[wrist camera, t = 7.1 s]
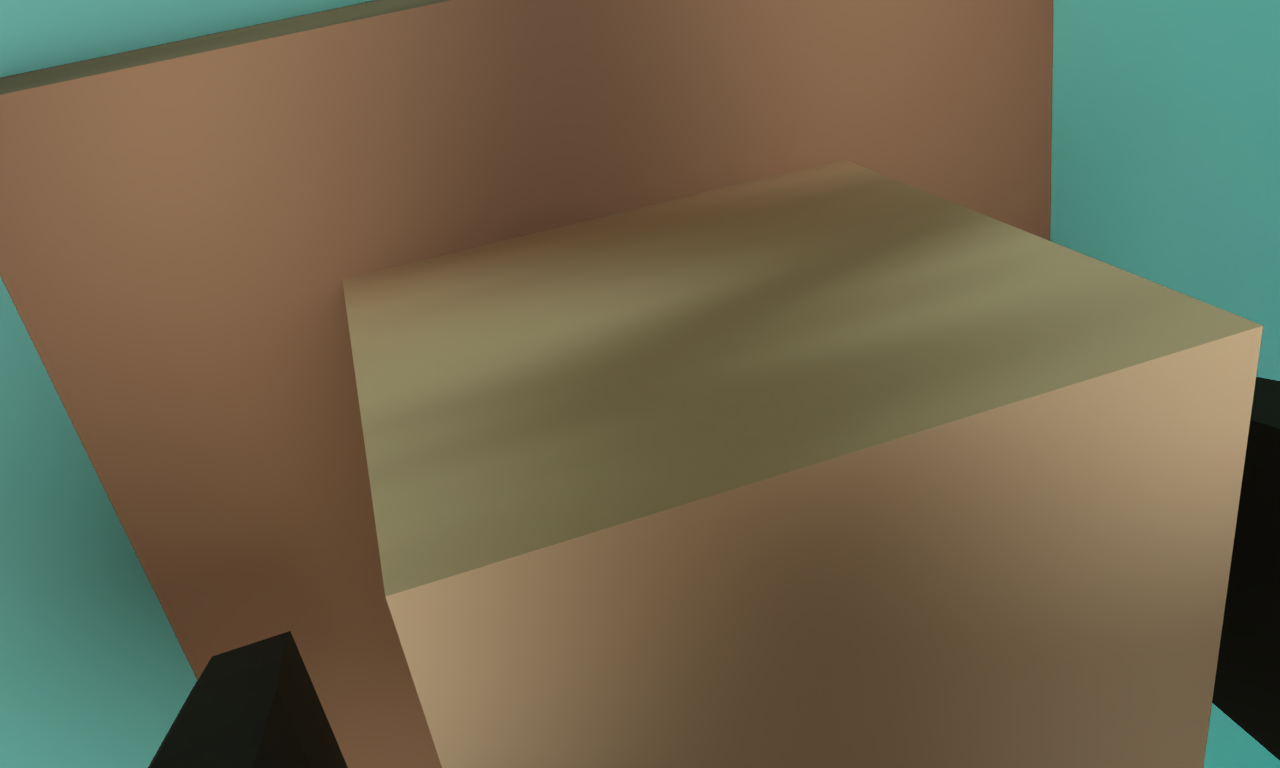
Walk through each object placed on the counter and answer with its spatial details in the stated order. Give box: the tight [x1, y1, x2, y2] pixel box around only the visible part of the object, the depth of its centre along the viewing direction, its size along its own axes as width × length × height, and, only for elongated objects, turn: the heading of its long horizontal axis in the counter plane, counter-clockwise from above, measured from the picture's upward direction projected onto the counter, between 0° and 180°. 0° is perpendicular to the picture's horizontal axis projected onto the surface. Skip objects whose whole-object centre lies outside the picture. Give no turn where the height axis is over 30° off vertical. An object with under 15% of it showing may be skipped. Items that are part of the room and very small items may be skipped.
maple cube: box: [342, 159, 1263, 768], centre depth 8 cm, size 5×5×5 cm
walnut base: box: [0, 0, 1053, 768], centre depth 12 cm, size 10×10×2 cm
